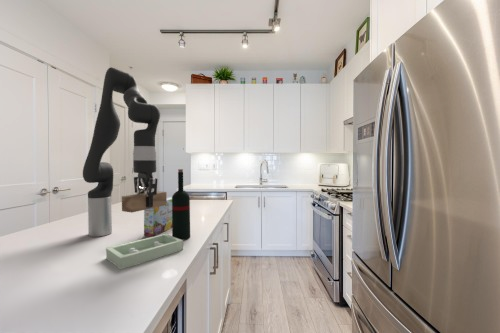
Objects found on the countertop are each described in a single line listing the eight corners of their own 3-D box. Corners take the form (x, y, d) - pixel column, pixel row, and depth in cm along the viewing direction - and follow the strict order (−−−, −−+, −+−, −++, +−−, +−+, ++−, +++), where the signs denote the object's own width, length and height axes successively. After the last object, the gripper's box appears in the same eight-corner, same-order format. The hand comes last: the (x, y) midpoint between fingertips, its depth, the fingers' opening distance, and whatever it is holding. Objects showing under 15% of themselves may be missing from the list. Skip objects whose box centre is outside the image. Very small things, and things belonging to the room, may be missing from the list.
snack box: (154, 237, 105) (154, 203, 105) (143, 236, 106) (142, 203, 106) (178, 224, 126) (178, 196, 126) (168, 224, 127) (168, 196, 127)
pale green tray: (106, 258, 82) (106, 248, 82) (165, 242, 99) (165, 233, 99) (121, 269, 74) (120, 258, 74) (183, 249, 90) (183, 240, 90)
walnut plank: (121, 211, 80) (121, 196, 80) (157, 203, 94) (157, 191, 94) (131, 212, 78) (131, 197, 78) (166, 204, 92) (166, 191, 91)
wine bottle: (185, 232, 112) (184, 168, 112) (193, 238, 104) (192, 169, 103) (168, 235, 108) (167, 169, 107) (174, 241, 99) (173, 169, 99)
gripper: (164, 159, 83) (165, 207, 84) (146, 159, 93) (146, 202, 93) (143, 159, 78) (144, 210, 78) (125, 159, 87) (126, 205, 88)
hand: (145, 205), depth 86 cm, fingers closed on walnut plank, 6 cm apart
